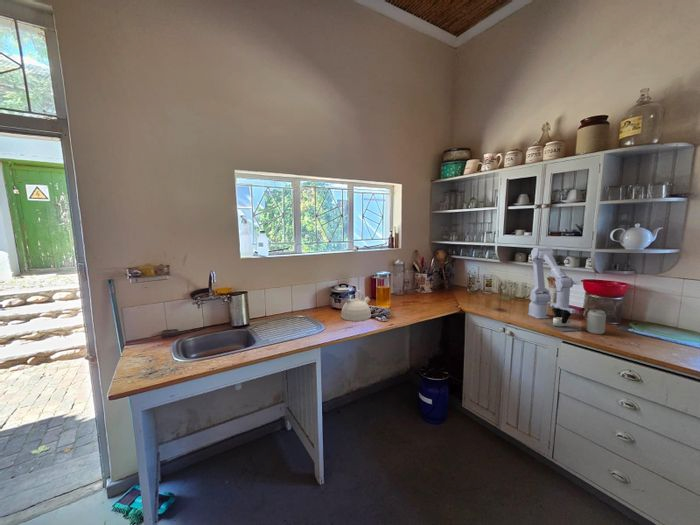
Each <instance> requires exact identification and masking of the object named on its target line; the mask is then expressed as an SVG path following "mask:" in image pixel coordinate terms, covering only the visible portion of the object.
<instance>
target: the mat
mask: <svg viewBox="0 0 700 525" xmlns="http://www.w3.org/2000/svg"><path fill="white" fill-rule="evenodd" d="M543 324H544V325H546V326H548V327H551V328H554V329H555V330H558V331H561V332H563V333H568V332H580V331H581V329H578V328H576V327H573V326H570V325H567V326H554V325H553V321H549V322H546V321H545V322H543Z"/></svg>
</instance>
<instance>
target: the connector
mask: <svg viewBox="0 0 700 525" xmlns="http://www.w3.org/2000/svg"><path fill="white" fill-rule="evenodd" d="M552 322H553V325H554V326H567V325H568V324H571V323H572V322H571V320H570V319H568V320H567V323H564V324H563V323H562V316H561V317H553V318H552Z"/></svg>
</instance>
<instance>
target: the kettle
mask: <svg viewBox="0 0 700 525" xmlns="http://www.w3.org/2000/svg"><path fill="white" fill-rule="evenodd" d="M357 292H358V293H359V294H360V297H361V298H352V299H349V300H347V302H345V303H344V304H343V306H342V308H341V312H340V313H341V315H340V317H341V319H343V320H346V321H350V322H361V321H366V320H369V319H371V317H372V313H371V312H372V310H371V308H370V305H369V304H368V303H369V302H370V301H371V299H370V297H369V296H365V295H364V293H363V292H362V291H361V290H360V289H354V290H351V291H347V292H345V293H344V294H343V295H342V296H341V297H340V298H341V299H342V300H343V299H345V298H346V297H347V296H348V295H350V294H352V293H357Z"/></svg>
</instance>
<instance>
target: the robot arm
mask: <svg viewBox="0 0 700 525" xmlns="http://www.w3.org/2000/svg"><path fill="white" fill-rule="evenodd" d="M530 253H531V256H530V257H531V261H532V265H533V266H532V268H533V281H534V288H532V289H531V291H530V294H529V299H530V302H529V304H528V313H527V315H528V316H530V317H533V318H535V319H551V318H550V317H549V316H548V315H547V306H548V304H549V302H550V301H551V298H552V297H551V294H550V290H549V289H547V288H546V287H545V274H544V272H545V271H544V262H546V264H547V265H548V266H549V268H550V273H551V275H552V277H553V278H554V280H555V281H554V284H555V285H554V286H555V289H556V302H555V303H554V302H550V306H549V307H553V308H552V309H551V310H552V312H553V314H554V318H556V317H562V323H563V324H564V323H567V320H569V318H570V317H571V315H572V314H576V309H574V308H572V307H570V296H571V295H570V293H571V288H573V286H574V280H573V279H572V277H569V276H568V275H567V274H566V272H565V271H564V270H563V268H562V267H561V266H559V265H558V263H557V262H556V260H555V257H554V251H553V248H552V247H550V246H549V247H533V248H532V250H531V252H530Z"/></svg>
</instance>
